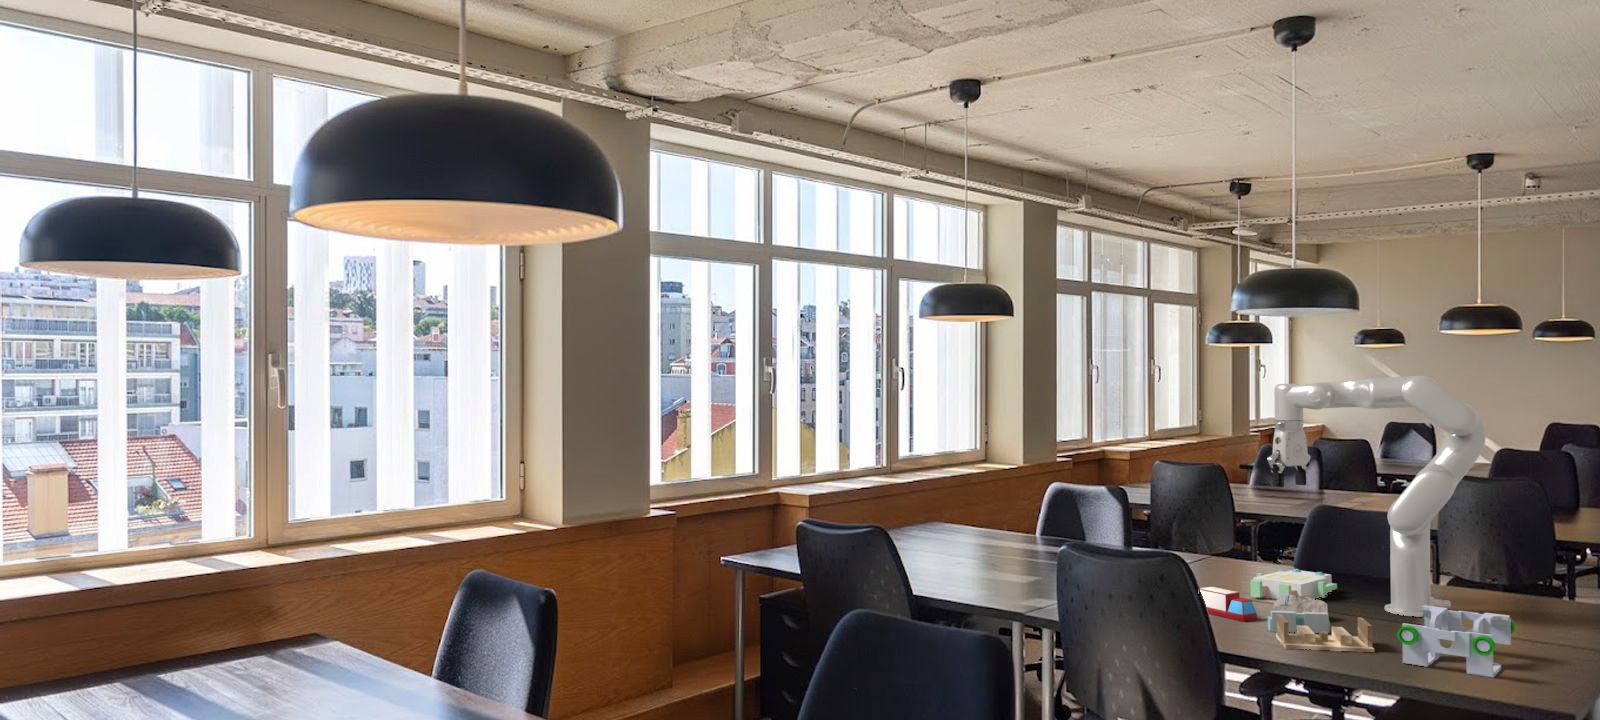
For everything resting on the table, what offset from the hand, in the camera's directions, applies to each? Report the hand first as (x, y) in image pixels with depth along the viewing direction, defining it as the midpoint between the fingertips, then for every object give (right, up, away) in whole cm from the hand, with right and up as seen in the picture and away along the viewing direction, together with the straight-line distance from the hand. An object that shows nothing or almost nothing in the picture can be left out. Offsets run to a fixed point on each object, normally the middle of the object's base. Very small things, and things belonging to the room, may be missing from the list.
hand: (1289, 485), depth 317 cm
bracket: (+9, -33, -66) cm, 74 cm away
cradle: (-14, -33, -50) cm, 61 cm away
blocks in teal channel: (-14, -33, -37) cm, 52 cm away
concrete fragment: (-6, -33, -21) cm, 40 cm away
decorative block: (+4, -34, +7) cm, 35 cm away
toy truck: (-25, -34, -18) cm, 45 cm away
